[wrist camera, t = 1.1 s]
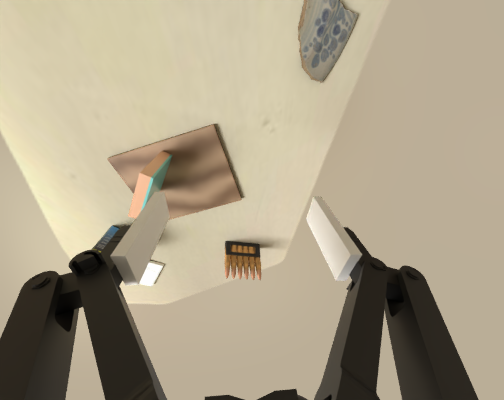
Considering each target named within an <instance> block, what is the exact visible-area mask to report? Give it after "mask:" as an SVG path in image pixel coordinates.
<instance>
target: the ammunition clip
mask: <svg viewBox="0 0 504 400" xmlns="http://www.w3.org/2000/svg"><path fill="white" fill-rule="evenodd" d="M242 252H243V253H242ZM248 256H249V257H248ZM230 263H231V269H232V277H233V279H234V278H235V275H236V265H237V267H238V276H239V278H240V279H241V277H242V266H243V267H244V274H245V278H246V279H248V273H249V272H248V270H249V269H248V267H250V271H251V277H252V279H253V280H254V278H255V267H256V271H257V276H258V278H259V280H261V262H260V248H259V244H251V243H241V242H230V241H226V243H225V275H226V278H228V276H229V270H230Z"/></svg>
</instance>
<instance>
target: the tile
mask: <svg viewBox="0 0 504 400" xmlns="http://www.w3.org/2000/svg"><path fill="white" fill-rule="evenodd" d="M171 158H172V155H171V154H169V153H166V152H164V151H161V152H160V153H159V154H158V155H157V156H156V157H155V158H154V159H153V160H152V161H151V162H150V163H149V164H148V165H147V166H146V167H145V168H144V169H143V170H142V171H141V172H140V173H139V177H138V180H137V184H136V188H135V192H134V195H133V199H132V203H131V207H130V211H129V214H128V216H129V217H132V218H135V219H136V218H137V217H138V215H139V214H140V212H141V211H142V209H143V208H144V207H145V205H146V204H147V202H148V201H149V199H150V198H151V196H152V195H153V194H154V192H160V190H161V187H162V184H163V181H164V178H165V175H166V172H167V169H168V167H169V164H170V161H171Z"/></svg>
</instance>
